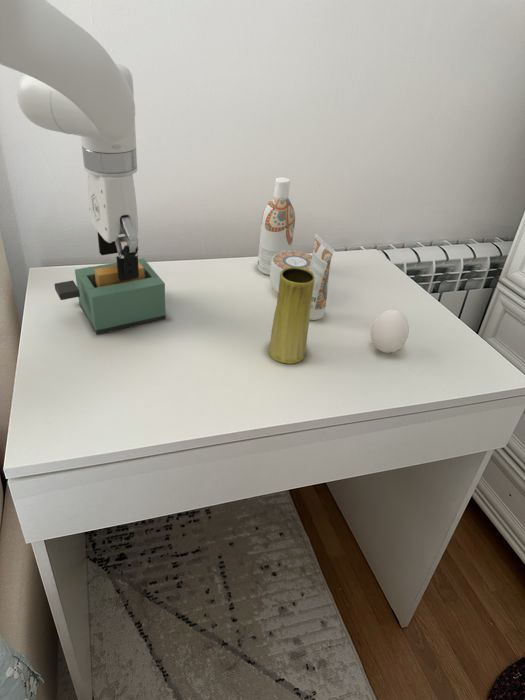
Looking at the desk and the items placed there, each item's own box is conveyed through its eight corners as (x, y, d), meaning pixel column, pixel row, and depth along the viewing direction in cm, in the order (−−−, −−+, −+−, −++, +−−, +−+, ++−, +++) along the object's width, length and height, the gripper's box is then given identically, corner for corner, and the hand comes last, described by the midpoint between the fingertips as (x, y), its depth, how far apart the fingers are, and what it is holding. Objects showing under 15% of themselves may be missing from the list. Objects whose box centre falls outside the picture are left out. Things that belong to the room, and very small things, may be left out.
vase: (294, 339, 90) (305, 263, 82) (312, 359, 86) (326, 281, 78) (261, 346, 88) (270, 268, 80) (278, 367, 84) (289, 287, 75)
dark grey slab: (60, 300, 84) (59, 293, 83) (55, 289, 86) (54, 283, 85) (80, 296, 85) (79, 290, 84) (74, 286, 87) (73, 280, 87)
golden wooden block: (102, 315, 90) (98, 275, 85) (98, 308, 91) (94, 268, 87) (146, 307, 93) (144, 267, 89) (141, 300, 95) (139, 261, 90)
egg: (361, 340, 92) (370, 302, 88) (394, 338, 93) (405, 301, 89) (374, 361, 87) (384, 322, 83) (408, 359, 88) (420, 320, 84)
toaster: (96, 334, 87) (92, 297, 82) (79, 305, 93) (74, 269, 89) (165, 319, 92) (165, 283, 88) (145, 292, 99) (143, 258, 95)
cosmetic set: (342, 321, 96) (363, 223, 85) (296, 328, 93) (311, 227, 82) (286, 260, 115) (297, 172, 104) (246, 264, 112) (253, 174, 101)
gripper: (68, 144, 82) (80, 247, 92) (103, 180, 70) (112, 294, 80) (116, 141, 85) (123, 241, 95) (157, 175, 73) (160, 285, 83)
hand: (118, 265), depth 87 cm, fingers open, 9 cm apart
